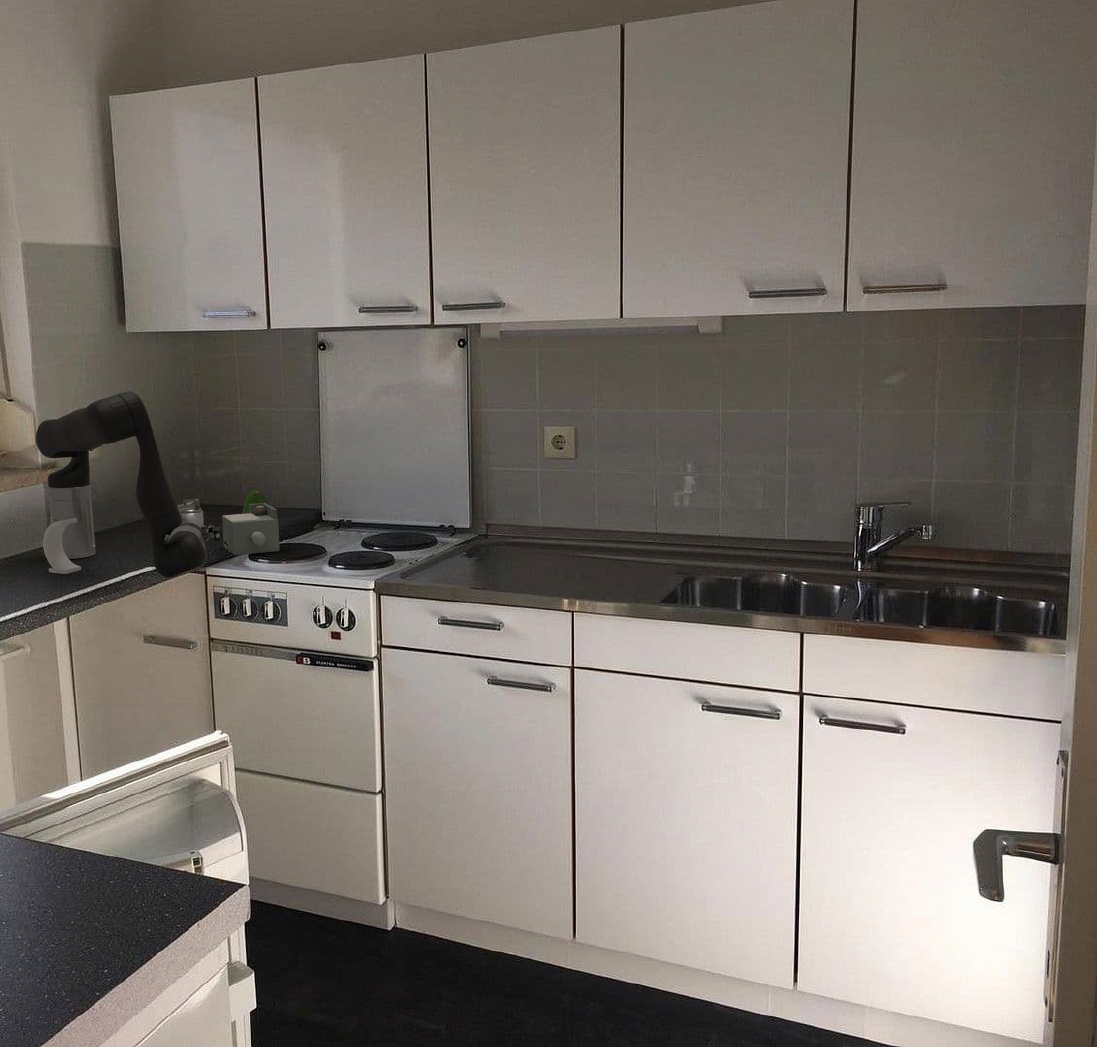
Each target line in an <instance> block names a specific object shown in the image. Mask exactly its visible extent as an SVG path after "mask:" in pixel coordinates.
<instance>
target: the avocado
mask: <svg viewBox="0 0 1097 1047" xmlns="http://www.w3.org/2000/svg"><path fill="white" fill-rule="evenodd" d="M259 503H266V504H268V505H270V506H271V504H270V503H269V500H268V499H267V497H266V495H265V494H263V493H262V492H261V491H259V490H257V489H256V490H251V491H250V492H249V493H248V494H247V495H246V498H245V502H244V506H243V509H242V513H241V514H248V513H249V504H259Z"/></svg>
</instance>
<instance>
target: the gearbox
mask: <svg viewBox="0 0 1097 1047" xmlns="http://www.w3.org/2000/svg"><path fill="white" fill-rule="evenodd" d="M221 520H222V538H223V539H222V540H223V542H224V541H226V542H227V544H228V546H227V545H226V544H224V543H223V548H225V549H226V550H227V551H228V552H230V553H231V554H232V555H234V556H243V555H252V554H261V553H263V554H264V553H270V552H273V553H274V552H280V550H281V549H280V533H279V532H280V531H279V518H278V509H277V508H275V507H273V506H272V505H271V504H270V505H268V504H266V503H259V504H249V513H248V514H242V513H237V514H228V515H227V514H225V515H224V514H223V515H221Z"/></svg>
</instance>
